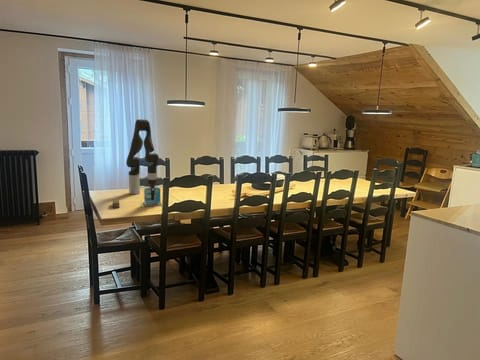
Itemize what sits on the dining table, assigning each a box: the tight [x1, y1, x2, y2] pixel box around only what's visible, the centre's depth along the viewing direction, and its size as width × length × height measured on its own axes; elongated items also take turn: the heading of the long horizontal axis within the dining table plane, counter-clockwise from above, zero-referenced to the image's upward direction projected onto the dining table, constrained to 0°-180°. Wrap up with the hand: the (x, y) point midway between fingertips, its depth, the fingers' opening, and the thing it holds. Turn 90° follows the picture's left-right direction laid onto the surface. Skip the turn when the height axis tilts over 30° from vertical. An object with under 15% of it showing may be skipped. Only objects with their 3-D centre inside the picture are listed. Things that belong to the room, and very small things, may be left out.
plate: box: [140, 201, 163, 208], centre depth 296 cm, size 14×16×1 cm
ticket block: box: [112, 198, 120, 209], centre depth 287 cm, size 12×5×4 cm, turn 19°
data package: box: [143, 186, 161, 204], centre depth 295 cm, size 12×4×12 cm, turn 123°
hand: (152, 198), depth 296 cm, fingers closed on data package, 5 cm apart
